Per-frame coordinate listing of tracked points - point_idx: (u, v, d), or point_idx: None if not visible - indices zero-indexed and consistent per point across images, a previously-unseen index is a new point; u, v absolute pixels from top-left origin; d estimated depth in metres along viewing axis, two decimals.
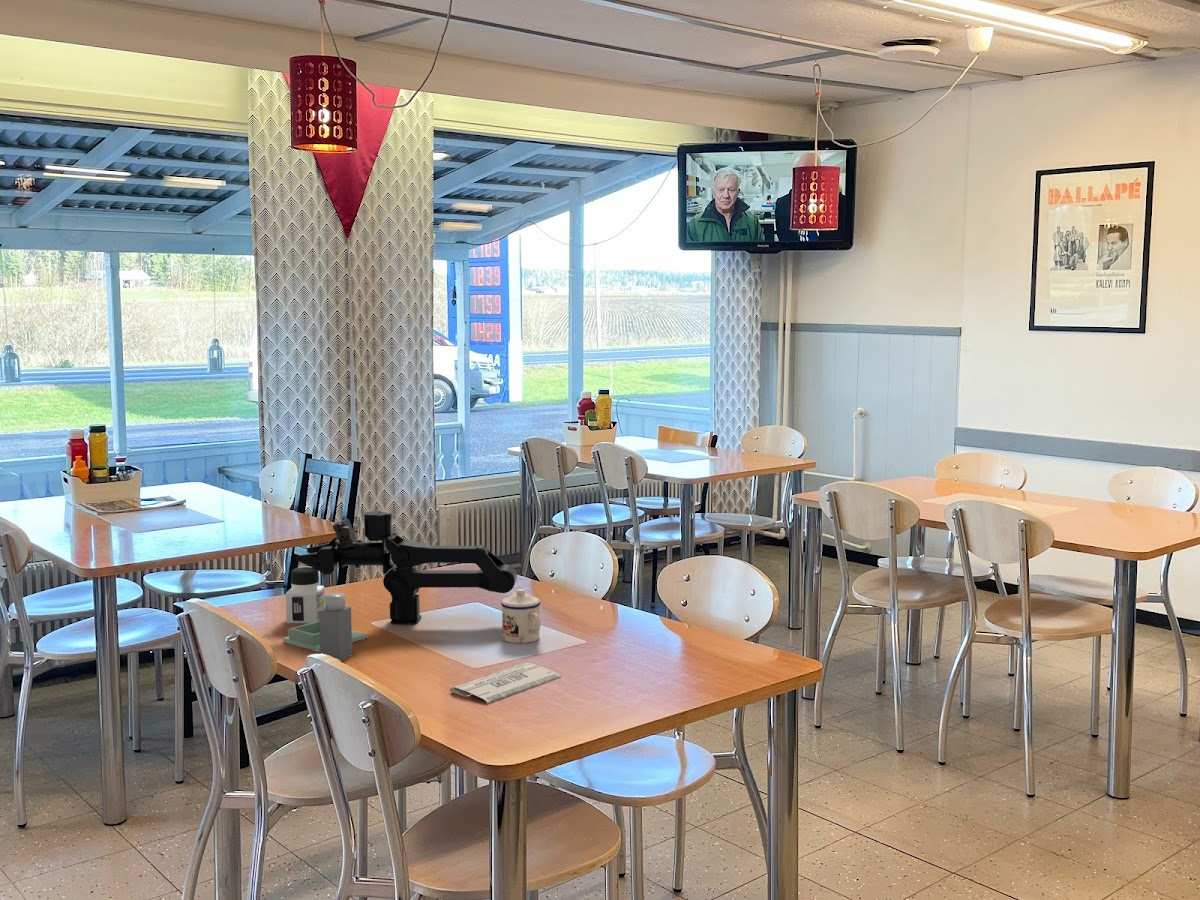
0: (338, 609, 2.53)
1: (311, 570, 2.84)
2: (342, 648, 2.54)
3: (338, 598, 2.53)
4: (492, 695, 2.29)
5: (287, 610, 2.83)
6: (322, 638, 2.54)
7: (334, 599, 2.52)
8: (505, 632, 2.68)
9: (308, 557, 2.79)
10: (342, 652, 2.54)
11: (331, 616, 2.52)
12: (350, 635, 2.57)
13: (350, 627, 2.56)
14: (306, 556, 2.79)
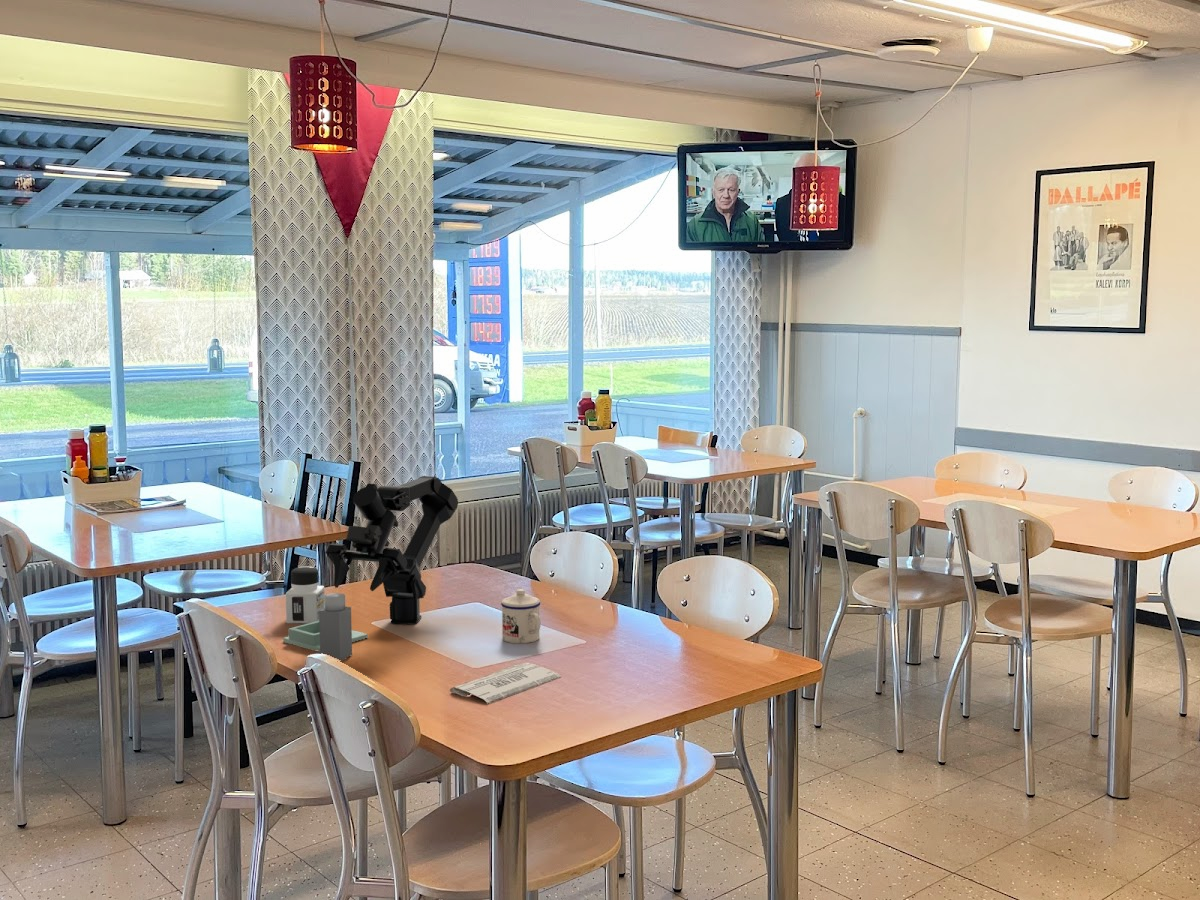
0: (338, 609, 2.53)
1: (311, 570, 2.84)
2: (342, 648, 2.54)
3: (338, 598, 2.53)
4: (492, 695, 2.29)
5: (287, 610, 2.83)
6: (322, 638, 2.54)
7: (334, 599, 2.52)
8: (505, 632, 2.68)
9: (379, 577, 2.62)
10: (342, 652, 2.54)
11: (331, 616, 2.52)
12: (350, 635, 2.57)
13: (350, 627, 2.56)
14: (378, 578, 2.61)
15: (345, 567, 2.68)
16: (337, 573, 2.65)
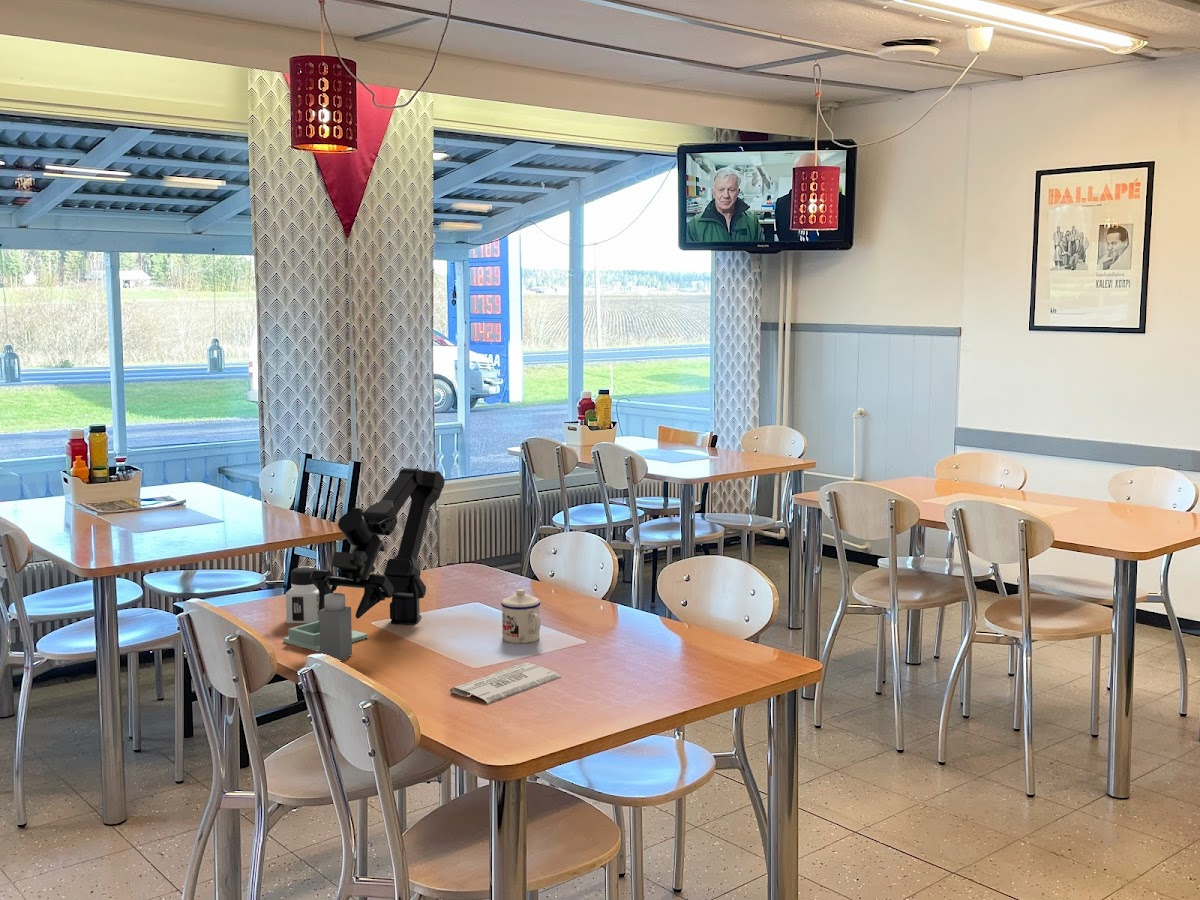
0: (338, 609, 2.53)
1: (311, 570, 2.84)
2: (342, 648, 2.54)
3: (338, 598, 2.53)
4: (492, 695, 2.29)
5: (287, 610, 2.83)
6: (322, 638, 2.54)
7: (334, 599, 2.52)
8: (505, 632, 2.68)
9: (365, 604, 2.56)
10: (342, 652, 2.54)
11: (331, 616, 2.52)
12: (350, 635, 2.57)
13: (350, 627, 2.56)
14: (363, 606, 2.55)
15: (330, 593, 2.62)
16: (322, 600, 2.59)
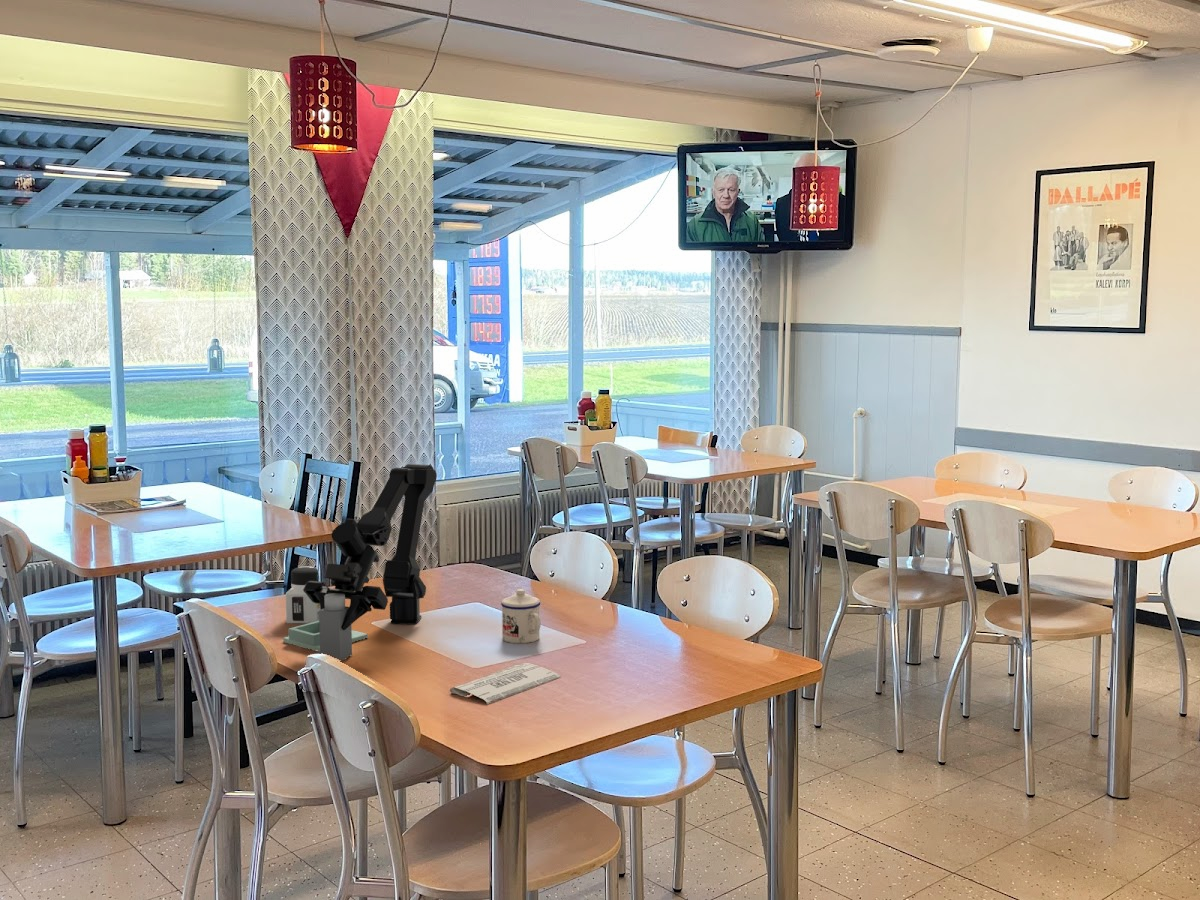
0: (338, 609, 2.53)
1: (311, 570, 2.84)
2: (342, 648, 2.54)
3: (338, 598, 2.53)
4: (492, 695, 2.29)
5: (287, 610, 2.83)
6: (322, 638, 2.54)
7: (334, 599, 2.52)
8: (505, 632, 2.68)
9: (351, 615, 2.54)
10: (342, 652, 2.54)
11: (331, 616, 2.52)
12: (350, 635, 2.57)
13: (350, 627, 2.56)
14: (350, 617, 2.54)
15: None
16: None
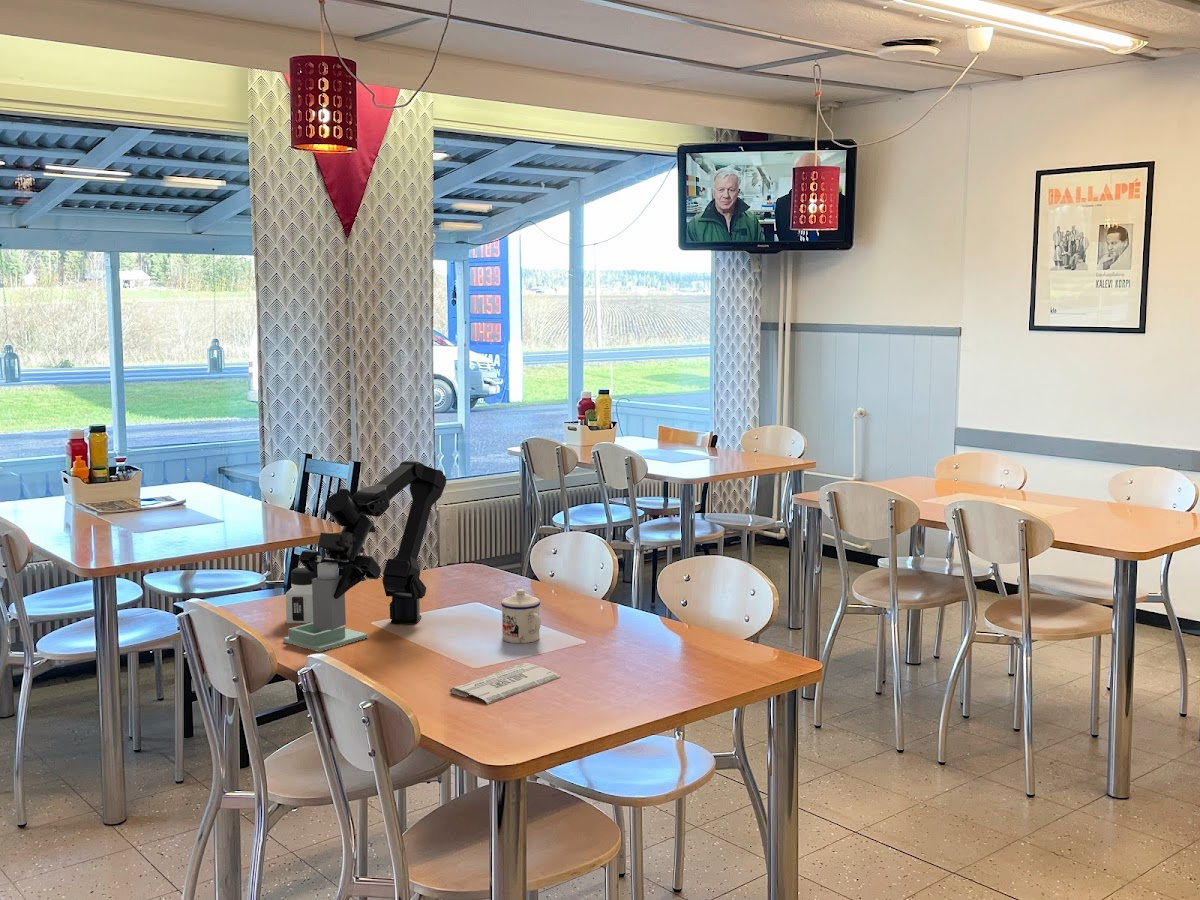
0: (330, 578, 2.54)
1: None
2: (335, 617, 2.55)
3: (330, 567, 2.54)
4: (491, 695, 2.28)
5: (287, 610, 2.83)
6: (315, 606, 2.55)
7: (326, 568, 2.54)
8: (505, 632, 2.68)
9: (344, 584, 2.55)
10: (335, 621, 2.55)
11: (324, 585, 2.54)
12: (343, 604, 2.58)
13: (343, 596, 2.58)
14: (342, 586, 2.55)
15: None
16: None
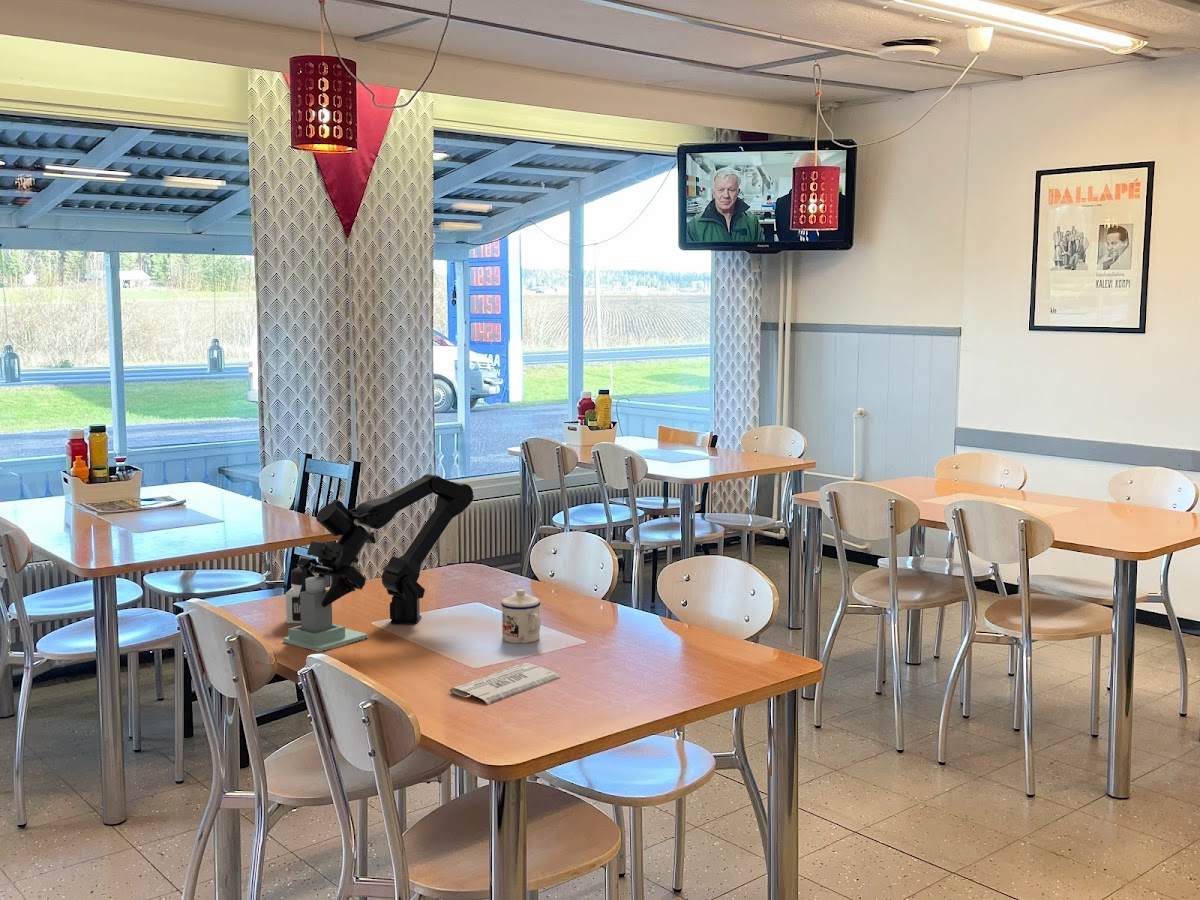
0: (315, 592, 2.64)
1: None
2: (319, 630, 2.64)
3: (315, 581, 2.63)
4: (491, 695, 2.28)
5: (287, 610, 2.83)
6: (302, 618, 2.66)
7: (311, 582, 2.63)
8: (505, 632, 2.68)
9: (332, 593, 2.63)
10: None
11: (309, 598, 2.64)
12: (330, 618, 2.67)
13: (330, 610, 2.67)
14: (330, 595, 2.63)
15: None
16: (303, 587, 2.68)
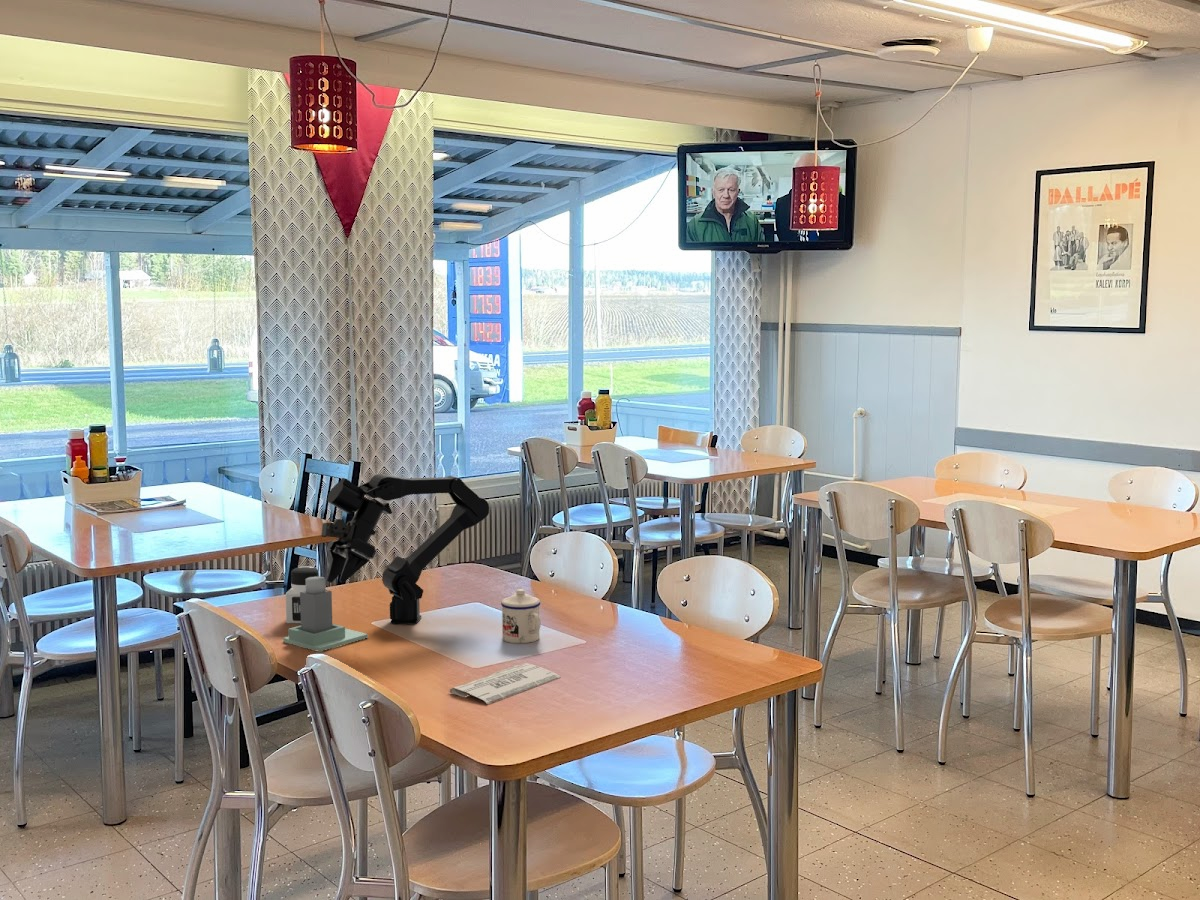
0: (315, 592, 2.64)
1: (311, 570, 2.84)
2: (319, 630, 2.64)
3: (315, 581, 2.63)
4: (491, 696, 2.28)
5: (287, 610, 2.83)
6: (302, 618, 2.66)
7: (311, 582, 2.63)
8: (505, 632, 2.68)
9: (347, 568, 2.68)
10: None
11: (309, 598, 2.64)
12: (330, 618, 2.67)
13: (330, 610, 2.67)
14: (345, 570, 2.68)
15: (343, 561, 2.78)
16: (330, 569, 2.76)
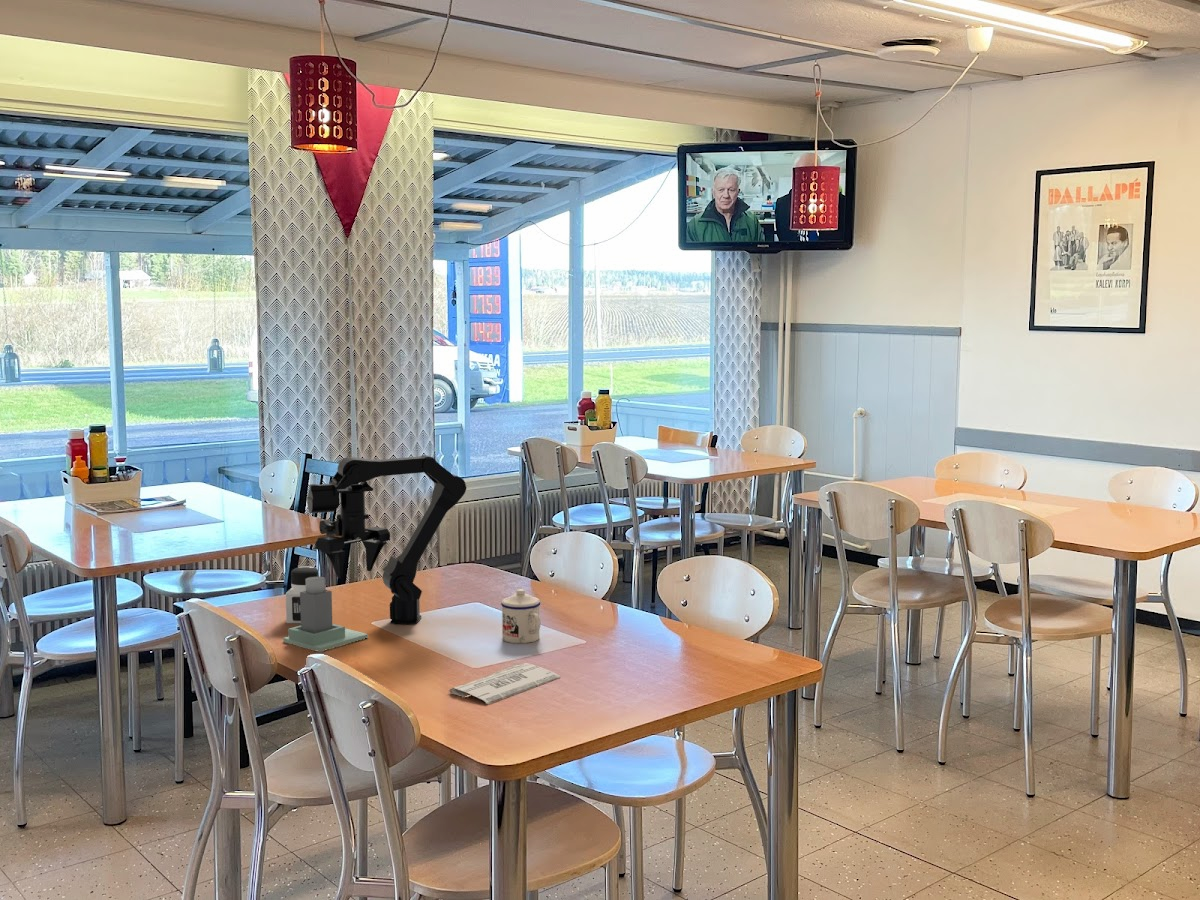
0: (315, 592, 2.64)
1: (311, 570, 2.84)
2: (319, 630, 2.64)
3: (315, 581, 2.63)
4: (491, 696, 2.28)
5: (287, 610, 2.83)
6: (302, 618, 2.66)
7: (311, 582, 2.63)
8: (505, 632, 2.68)
9: (334, 564, 2.74)
10: None
11: (309, 598, 2.64)
12: (330, 618, 2.67)
13: (330, 610, 2.67)
14: (334, 567, 2.75)
15: (372, 547, 2.81)
16: None
